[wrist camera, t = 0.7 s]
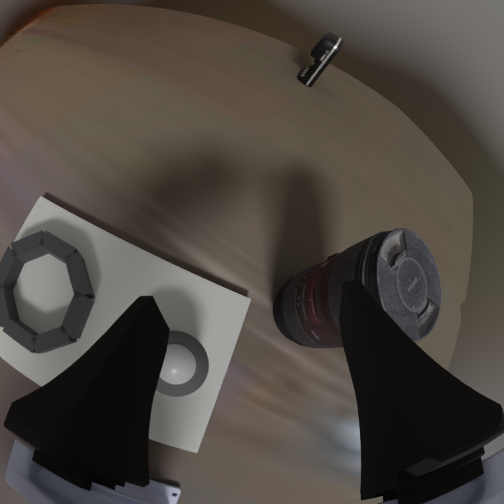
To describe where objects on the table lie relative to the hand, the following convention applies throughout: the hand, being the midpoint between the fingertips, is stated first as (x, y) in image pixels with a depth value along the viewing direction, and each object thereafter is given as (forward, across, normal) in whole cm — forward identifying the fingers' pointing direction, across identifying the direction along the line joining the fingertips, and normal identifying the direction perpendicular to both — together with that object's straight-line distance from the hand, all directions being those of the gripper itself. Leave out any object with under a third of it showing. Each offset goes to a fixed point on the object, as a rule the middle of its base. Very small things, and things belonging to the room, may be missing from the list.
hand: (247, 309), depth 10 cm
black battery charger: (+49, -10, -9) cm, 51 cm away
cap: (+5, +9, +11) cm, 15 cm away
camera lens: (+13, -3, +14) cm, 20 cm away
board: (+6, +15, +8) cm, 18 cm away
